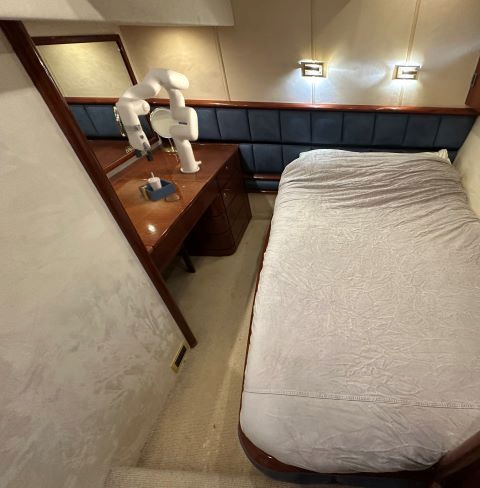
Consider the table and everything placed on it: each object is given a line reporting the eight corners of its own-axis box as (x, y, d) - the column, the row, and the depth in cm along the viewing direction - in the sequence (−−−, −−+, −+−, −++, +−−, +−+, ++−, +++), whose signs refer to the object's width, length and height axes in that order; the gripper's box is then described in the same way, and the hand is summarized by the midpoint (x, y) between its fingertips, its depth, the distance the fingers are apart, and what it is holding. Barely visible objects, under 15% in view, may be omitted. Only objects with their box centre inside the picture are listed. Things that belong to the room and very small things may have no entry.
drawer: (162, 186, 172) (158, 174, 166) (176, 191, 168) (172, 179, 162) (139, 197, 160) (134, 184, 155) (153, 202, 156) (148, 190, 151)
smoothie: (166, 191, 167) (159, 170, 158) (162, 196, 162) (154, 175, 153) (156, 191, 167) (148, 170, 158) (151, 196, 162) (142, 175, 153)
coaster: (173, 194, 165) (173, 193, 165) (182, 197, 163) (182, 196, 162) (163, 199, 160) (162, 198, 159) (171, 202, 157) (171, 202, 157)
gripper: (150, 129, 139) (161, 160, 150) (129, 123, 145) (141, 154, 155) (137, 132, 134) (149, 164, 144) (115, 126, 139) (129, 157, 150)
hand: (145, 159), depth 150 cm, fingers open, 9 cm apart
